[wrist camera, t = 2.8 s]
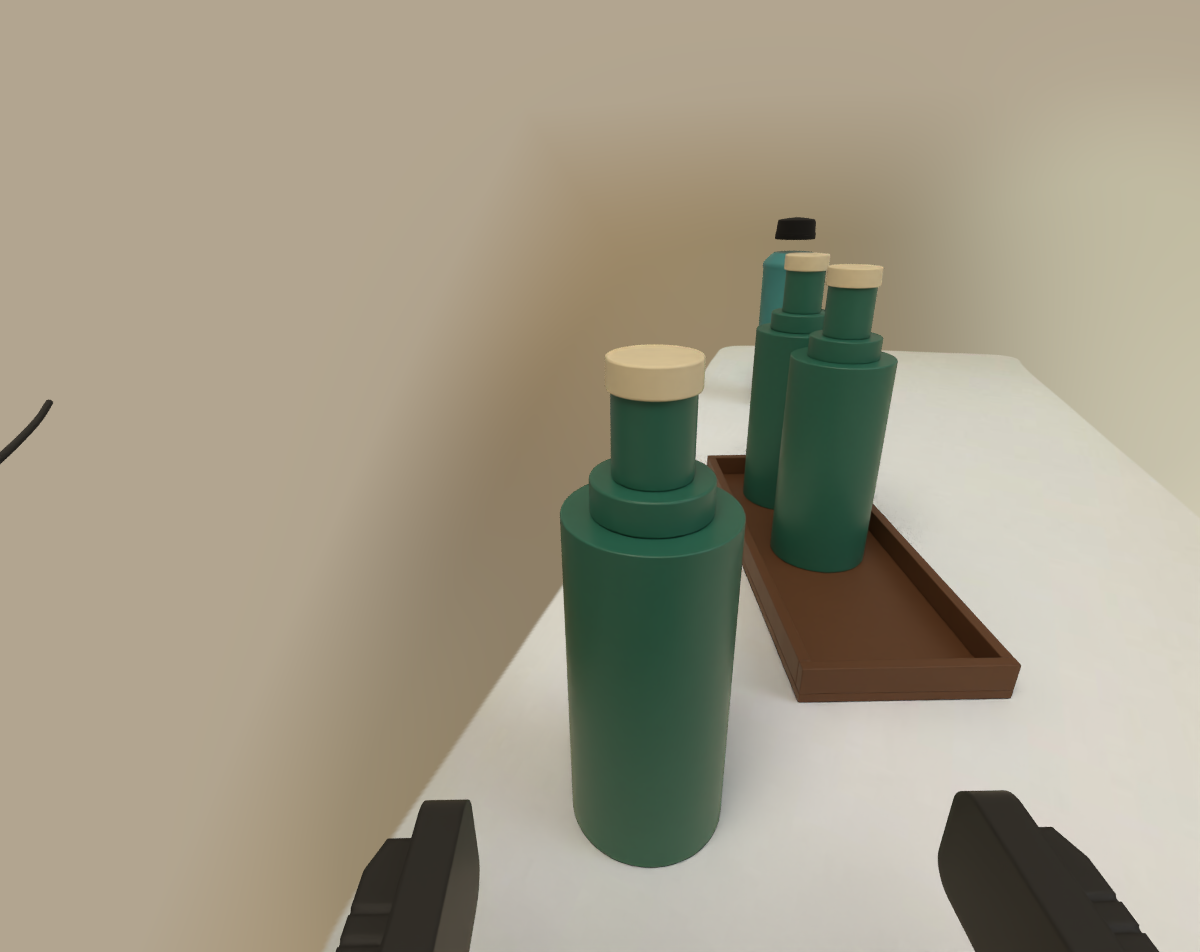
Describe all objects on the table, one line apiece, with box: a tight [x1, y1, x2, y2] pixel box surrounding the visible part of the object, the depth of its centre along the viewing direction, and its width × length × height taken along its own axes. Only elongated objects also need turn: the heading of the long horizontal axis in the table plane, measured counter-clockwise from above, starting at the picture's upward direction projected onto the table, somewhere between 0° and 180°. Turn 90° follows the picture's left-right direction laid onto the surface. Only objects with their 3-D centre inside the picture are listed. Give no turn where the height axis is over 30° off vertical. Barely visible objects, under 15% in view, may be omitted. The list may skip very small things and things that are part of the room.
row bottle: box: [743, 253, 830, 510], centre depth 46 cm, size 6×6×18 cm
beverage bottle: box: [759, 217, 816, 326], centre depth 71 cm, size 6×7×20 cm
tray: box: [707, 455, 1021, 702], centre depth 42 cm, size 27×10×2 cm, turn 1°
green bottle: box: [560, 344, 746, 867], centre depth 22 cm, size 6×6×18 cm
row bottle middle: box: [770, 264, 898, 573], centre depth 39 cm, size 6×6×18 cm
